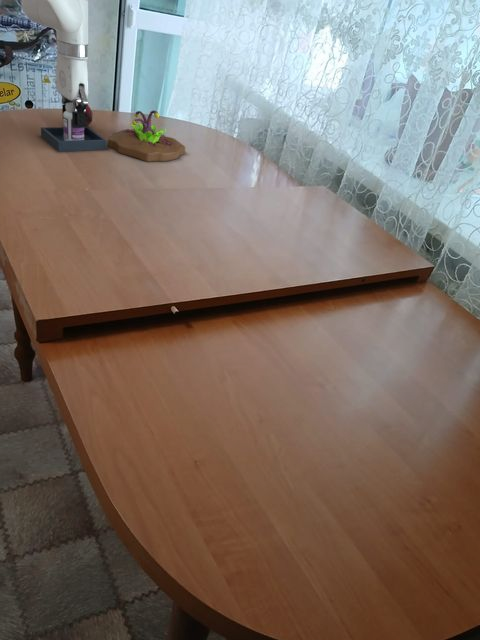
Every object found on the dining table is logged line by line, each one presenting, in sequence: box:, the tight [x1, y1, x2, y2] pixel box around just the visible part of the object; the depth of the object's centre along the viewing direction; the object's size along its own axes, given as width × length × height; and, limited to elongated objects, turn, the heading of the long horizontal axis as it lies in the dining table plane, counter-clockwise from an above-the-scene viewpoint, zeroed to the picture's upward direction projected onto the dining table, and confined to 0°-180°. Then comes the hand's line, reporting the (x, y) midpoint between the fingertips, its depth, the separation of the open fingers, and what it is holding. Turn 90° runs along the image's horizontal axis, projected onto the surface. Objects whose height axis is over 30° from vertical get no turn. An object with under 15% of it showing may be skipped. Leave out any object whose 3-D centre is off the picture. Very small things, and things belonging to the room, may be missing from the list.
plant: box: [107, 110, 186, 162], centre depth 155 cm, size 20×20×11 cm
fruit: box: [76, 102, 93, 127], centre depth 159 cm, size 8×8×8 cm
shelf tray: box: [40, 126, 108, 153], centre depth 150 cm, size 14×12×3 cm
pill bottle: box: [62, 103, 84, 141], centre depth 148 cm, size 5×5×10 cm
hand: (73, 123), depth 148 cm, fingers closed on pill bottle, 5 cm apart
